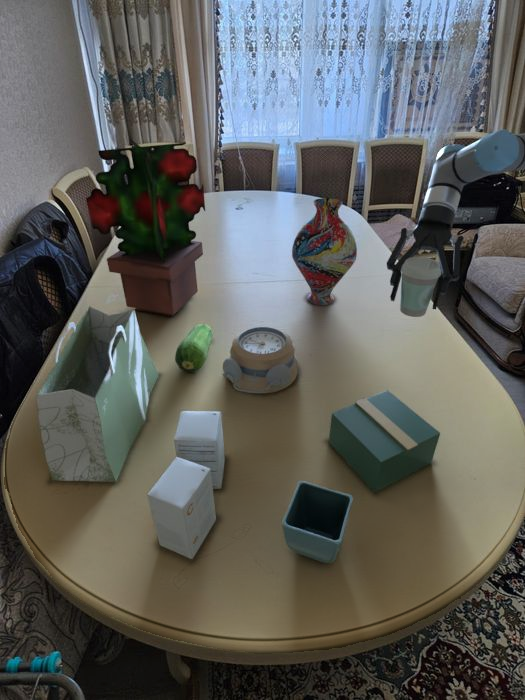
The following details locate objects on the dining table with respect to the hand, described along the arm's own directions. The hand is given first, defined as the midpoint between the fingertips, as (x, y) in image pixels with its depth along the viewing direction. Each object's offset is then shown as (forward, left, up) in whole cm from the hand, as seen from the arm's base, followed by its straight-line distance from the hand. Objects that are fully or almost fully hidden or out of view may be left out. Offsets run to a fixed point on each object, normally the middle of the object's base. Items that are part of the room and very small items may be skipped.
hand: (413, 303), depth 101 cm
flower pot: (-29, +45, -18) cm, 57 cm away
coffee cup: (+2, -3, -4) cm, 5 cm away
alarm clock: (+13, +32, -18) cm, 39 cm away
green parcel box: (-19, +23, -18) cm, 35 cm away
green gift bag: (+16, +67, -18) cm, 71 cm away
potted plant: (+60, +40, -18) cm, 75 cm away
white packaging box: (-7, +55, -18) cm, 59 cm away
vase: (+39, -4, -18) cm, 43 cm away
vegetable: (+30, +41, -18) cm, 54 cm away
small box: (-17, +62, -18) cm, 67 cm away
